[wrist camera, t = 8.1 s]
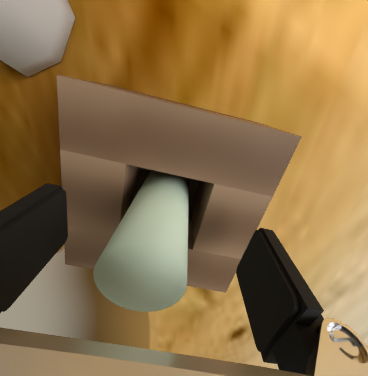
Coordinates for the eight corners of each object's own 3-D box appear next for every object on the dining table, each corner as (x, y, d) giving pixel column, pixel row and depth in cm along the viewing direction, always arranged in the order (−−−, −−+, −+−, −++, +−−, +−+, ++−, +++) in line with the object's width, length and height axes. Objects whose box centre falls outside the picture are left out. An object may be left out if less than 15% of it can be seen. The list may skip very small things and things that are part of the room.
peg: (152, 156, 15) (95, 234, 6) (193, 166, 15) (197, 255, 6) (146, 193, 17) (92, 302, 7) (183, 201, 17) (176, 318, 8)
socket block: (107, 84, 14) (56, 74, 9) (260, 123, 15) (301, 136, 10) (100, 217, 19) (65, 264, 14) (215, 240, 20) (225, 292, 14)
